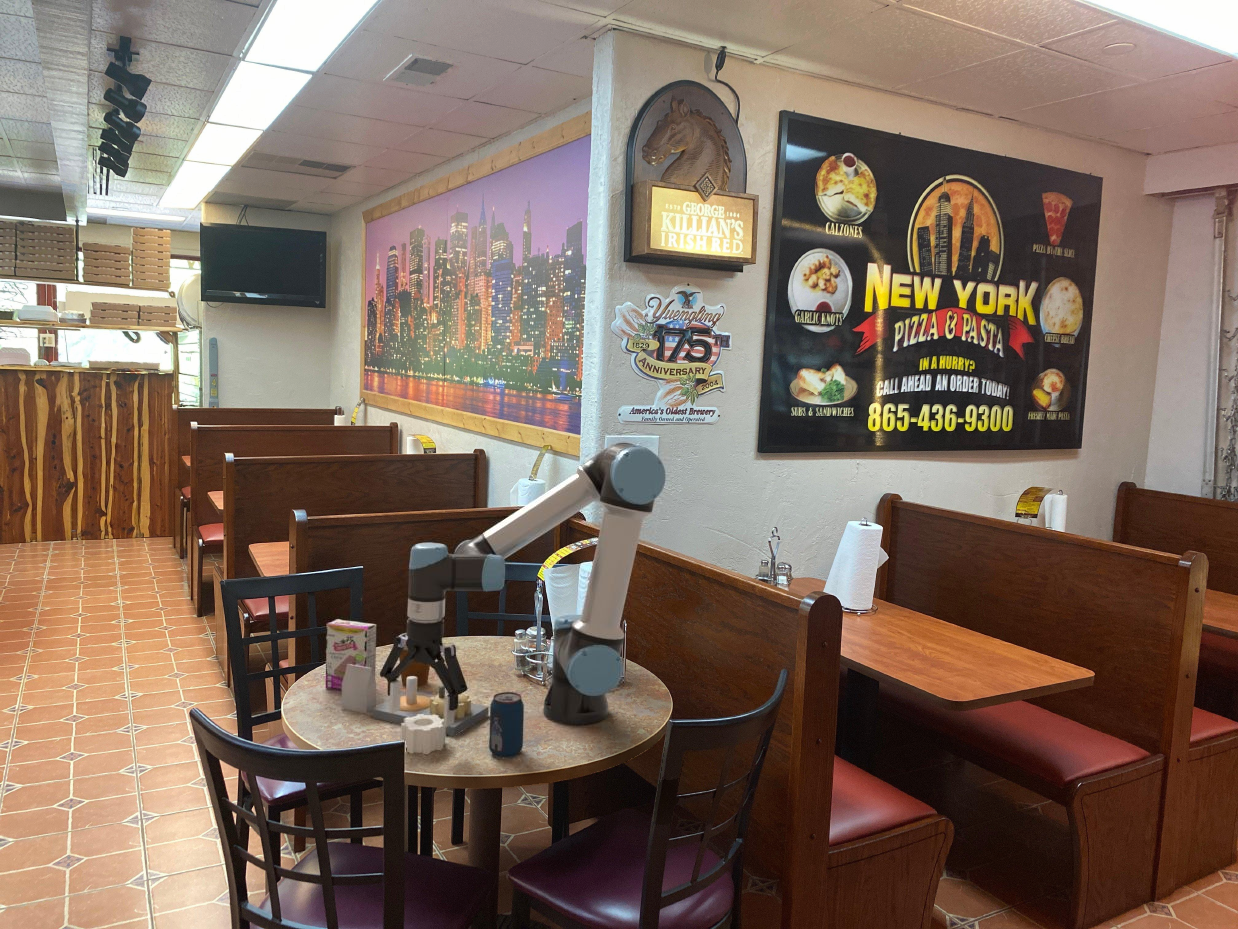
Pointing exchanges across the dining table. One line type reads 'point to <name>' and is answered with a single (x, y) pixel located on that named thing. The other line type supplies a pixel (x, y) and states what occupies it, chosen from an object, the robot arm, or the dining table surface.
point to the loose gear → (423, 733)
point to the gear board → (431, 708)
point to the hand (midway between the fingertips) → (421, 718)
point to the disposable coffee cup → (414, 669)
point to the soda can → (506, 725)
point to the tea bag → (358, 689)
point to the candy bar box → (348, 649)
